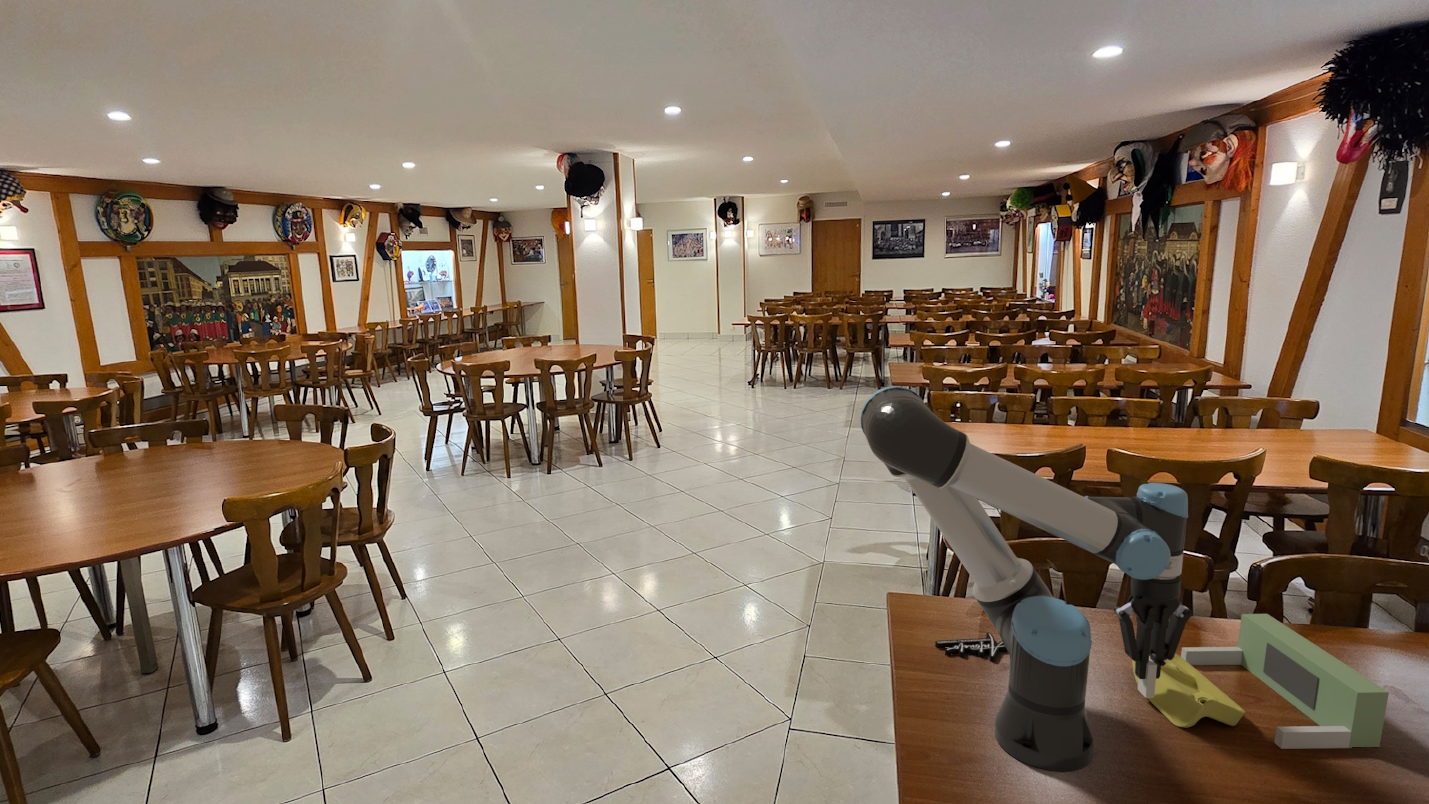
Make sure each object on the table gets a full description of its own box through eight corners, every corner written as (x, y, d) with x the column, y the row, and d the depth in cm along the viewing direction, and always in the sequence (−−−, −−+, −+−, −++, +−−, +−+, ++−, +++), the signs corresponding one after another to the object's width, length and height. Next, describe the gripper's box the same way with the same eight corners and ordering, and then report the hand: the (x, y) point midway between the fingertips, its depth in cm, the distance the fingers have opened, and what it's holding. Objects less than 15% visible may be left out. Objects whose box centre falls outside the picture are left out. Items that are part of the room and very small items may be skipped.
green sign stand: (1281, 748, 122) (1289, 693, 120) (1180, 661, 148) (1185, 614, 146) (1379, 747, 122) (1388, 692, 120) (1260, 660, 148) (1267, 613, 146)
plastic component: (1251, 716, 127) (1206, 698, 125) (1227, 750, 128) (1182, 732, 126) (1172, 648, 146) (1131, 632, 144) (1151, 679, 147) (1111, 663, 145)
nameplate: (1055, 628, 160) (1081, 653, 150) (1054, 635, 160) (1080, 660, 150) (930, 635, 158) (948, 660, 148) (930, 642, 158) (948, 667, 148)
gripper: (1130, 581, 127) (1120, 706, 131) (1207, 579, 126) (1194, 704, 131) (1108, 563, 134) (1099, 682, 138) (1180, 562, 134) (1169, 681, 138)
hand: (1145, 693), depth 135 cm, fingers closed
